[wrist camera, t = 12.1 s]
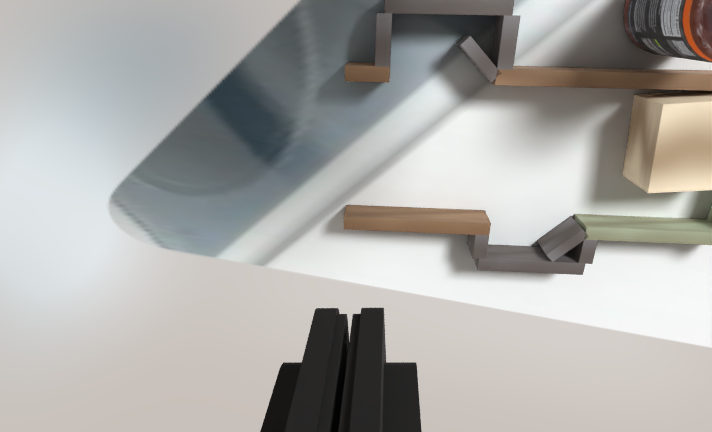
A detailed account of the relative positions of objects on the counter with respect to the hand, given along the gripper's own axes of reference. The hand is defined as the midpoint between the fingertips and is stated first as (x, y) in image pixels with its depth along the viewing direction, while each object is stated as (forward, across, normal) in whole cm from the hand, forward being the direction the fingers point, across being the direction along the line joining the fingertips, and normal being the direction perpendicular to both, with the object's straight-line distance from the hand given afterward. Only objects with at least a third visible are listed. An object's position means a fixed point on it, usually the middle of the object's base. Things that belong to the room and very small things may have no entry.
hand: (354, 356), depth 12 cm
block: (+26, -21, +2) cm, 34 cm away
